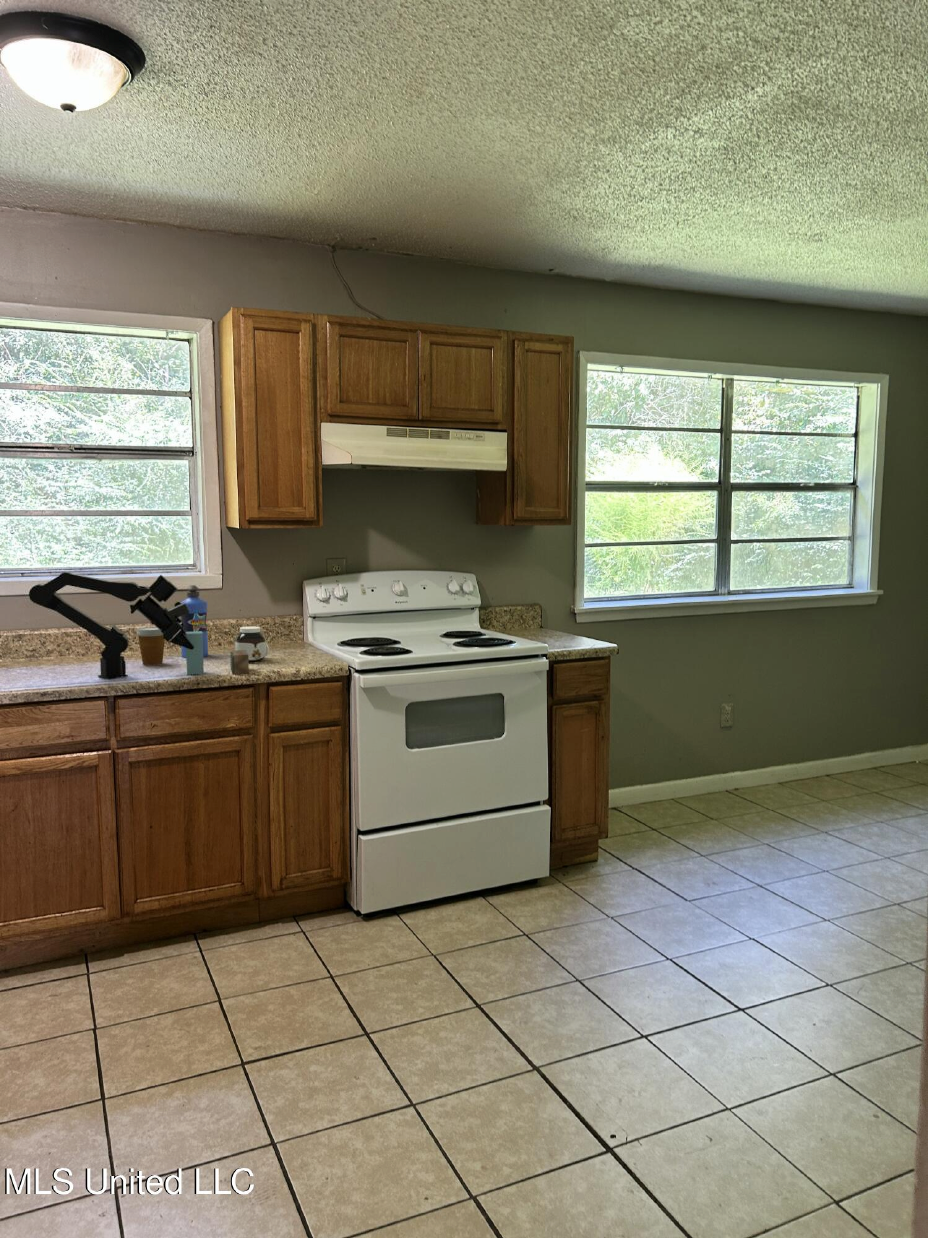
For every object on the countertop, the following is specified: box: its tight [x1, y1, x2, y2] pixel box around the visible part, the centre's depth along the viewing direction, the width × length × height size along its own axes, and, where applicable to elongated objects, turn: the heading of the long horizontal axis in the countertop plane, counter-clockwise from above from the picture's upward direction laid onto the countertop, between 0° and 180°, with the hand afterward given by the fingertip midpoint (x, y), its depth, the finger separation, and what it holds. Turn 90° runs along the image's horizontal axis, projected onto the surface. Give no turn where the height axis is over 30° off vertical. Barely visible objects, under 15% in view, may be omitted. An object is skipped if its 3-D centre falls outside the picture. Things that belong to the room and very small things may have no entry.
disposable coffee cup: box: [136, 626, 166, 666], centre depth 309 cm, size 10×10×12 cm
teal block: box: [185, 631, 205, 676], centre depth 292 cm, size 5×5×13 cm
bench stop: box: [230, 650, 250, 675], centre depth 296 cm, size 5×10×6 cm, turn 17°
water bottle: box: [179, 585, 209, 659], centre depth 325 cm, size 9×9×25 cm
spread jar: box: [234, 625, 270, 664], centre depth 317 cm, size 12×11×12 cm
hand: (193, 646), depth 291 cm, fingers open, 9 cm apart
